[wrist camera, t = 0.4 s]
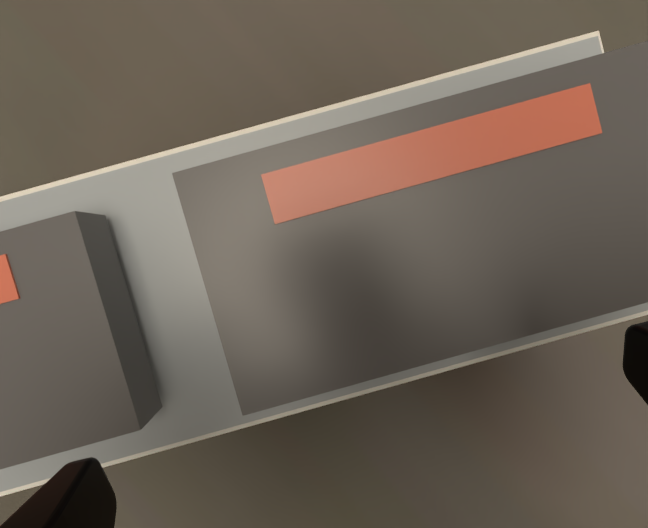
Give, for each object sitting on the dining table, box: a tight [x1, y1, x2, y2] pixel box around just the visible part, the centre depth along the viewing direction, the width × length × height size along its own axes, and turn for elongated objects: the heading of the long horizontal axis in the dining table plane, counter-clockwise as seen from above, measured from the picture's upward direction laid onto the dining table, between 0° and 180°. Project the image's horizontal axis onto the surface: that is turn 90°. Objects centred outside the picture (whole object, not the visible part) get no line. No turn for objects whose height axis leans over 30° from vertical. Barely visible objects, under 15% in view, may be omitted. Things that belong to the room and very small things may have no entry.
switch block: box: [0, 31, 648, 496], centre depth 19 cm, size 9×29×8 cm, turn 106°
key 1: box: [172, 41, 648, 416], centre depth 12 cm, size 6×12×2 cm, turn 106°
